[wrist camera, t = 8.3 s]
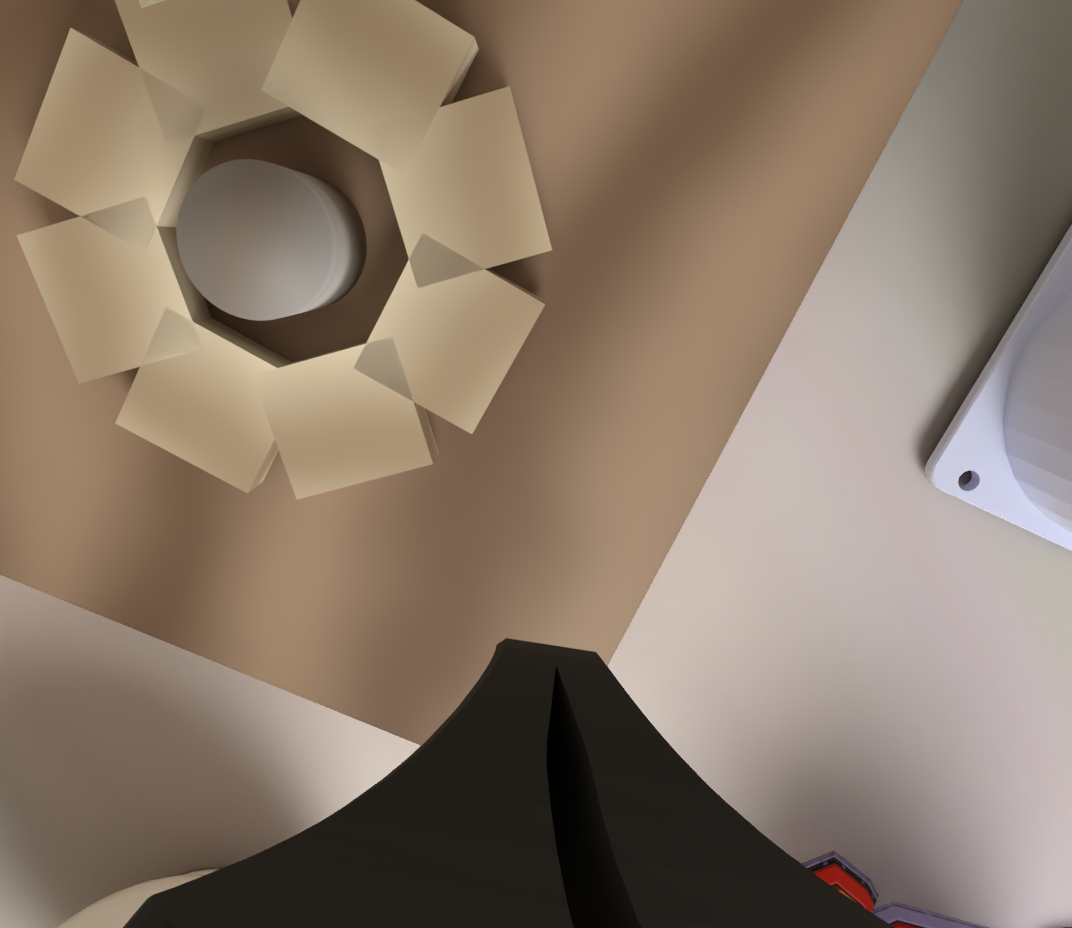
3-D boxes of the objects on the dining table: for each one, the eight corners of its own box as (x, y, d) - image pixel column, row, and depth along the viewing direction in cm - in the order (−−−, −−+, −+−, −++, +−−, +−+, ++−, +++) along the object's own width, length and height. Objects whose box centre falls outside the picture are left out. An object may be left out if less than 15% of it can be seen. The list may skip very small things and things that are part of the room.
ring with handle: (594, 412, 19) (607, 468, 14) (164, 525, 20) (38, 614, 15) (400, -336, 15) (328, -609, 10) (-115, -152, 16) (-400, -324, 11)
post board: (955, -15, 18) (1069, -90, 14) (539, 770, 23) (536, 876, 19) (-17, -530, 16) (-205, -786, 12) (-222, 459, 21) (-397, 506, 17)
